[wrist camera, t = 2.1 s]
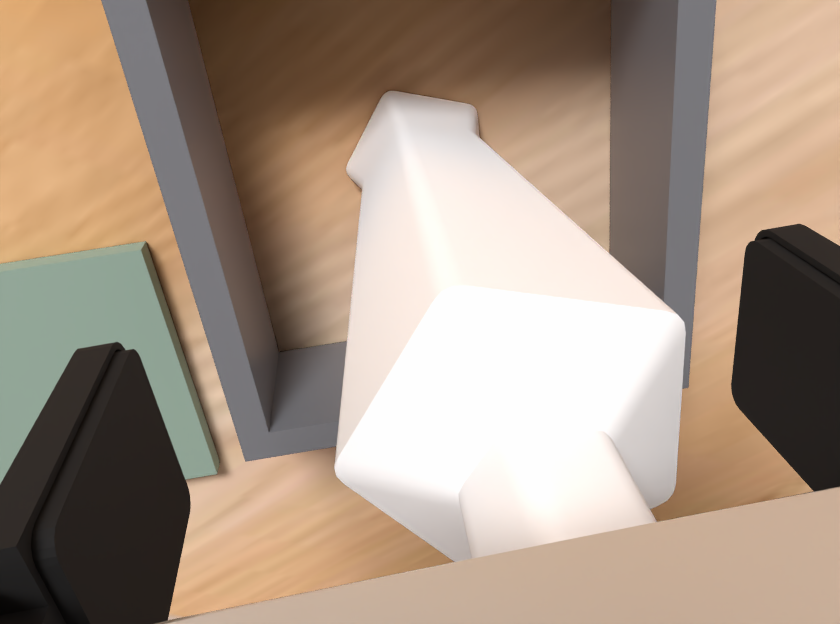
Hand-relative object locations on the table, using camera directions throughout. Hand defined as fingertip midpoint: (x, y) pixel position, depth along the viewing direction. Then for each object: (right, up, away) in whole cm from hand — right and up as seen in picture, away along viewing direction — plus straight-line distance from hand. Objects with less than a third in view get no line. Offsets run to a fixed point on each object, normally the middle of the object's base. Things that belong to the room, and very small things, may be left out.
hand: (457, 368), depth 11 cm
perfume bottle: (0, +5, +9) cm, 10 cm away
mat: (-12, -1, +11) cm, 16 cm away
